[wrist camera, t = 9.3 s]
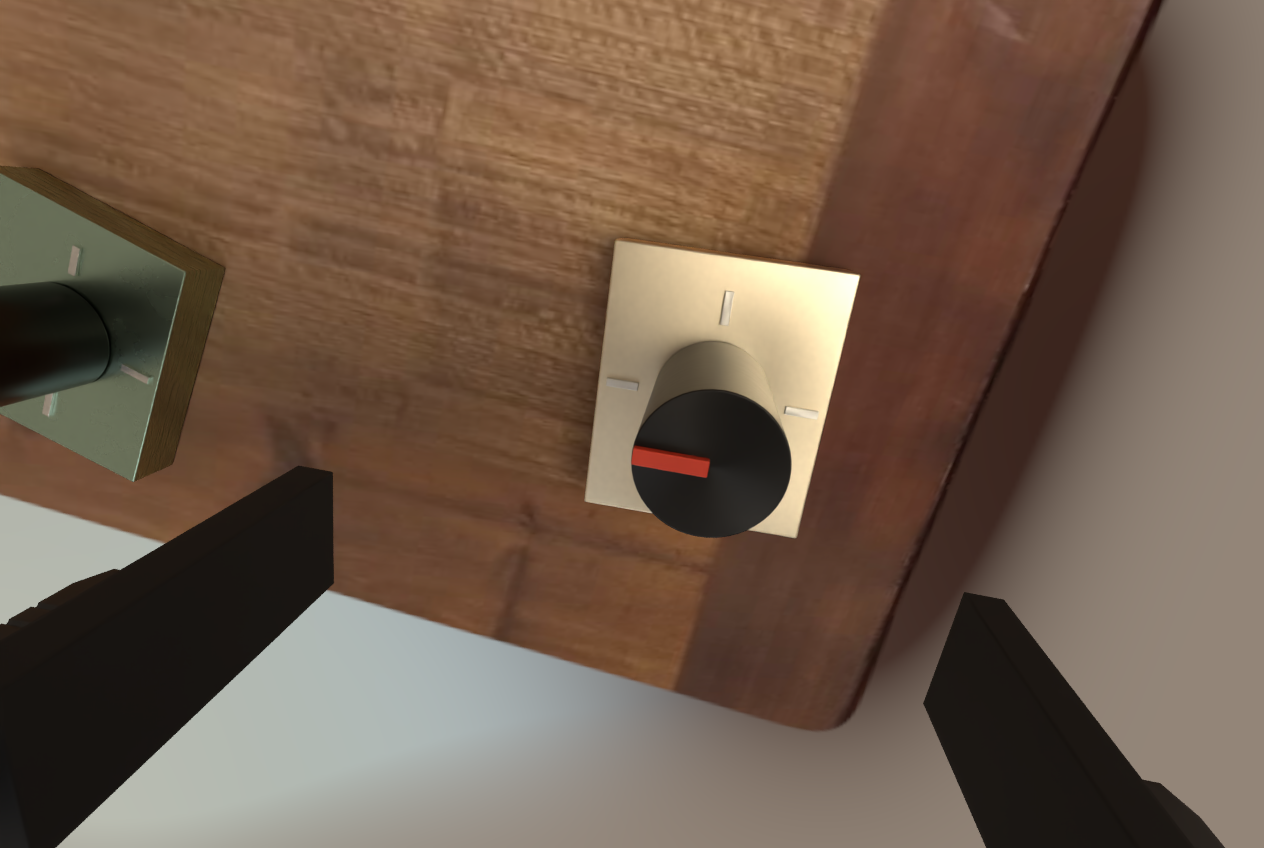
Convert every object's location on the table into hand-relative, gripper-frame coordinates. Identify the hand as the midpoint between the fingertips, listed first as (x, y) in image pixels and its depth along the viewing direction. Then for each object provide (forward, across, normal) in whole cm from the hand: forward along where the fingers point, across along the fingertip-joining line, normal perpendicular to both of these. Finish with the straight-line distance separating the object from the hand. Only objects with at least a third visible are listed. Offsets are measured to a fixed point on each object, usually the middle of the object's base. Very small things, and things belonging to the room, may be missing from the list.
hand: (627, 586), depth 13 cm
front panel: (+18, +2, 0) cm, 18 cm away
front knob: (+15, +2, 0) cm, 15 cm away
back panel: (+18, -29, -2) cm, 34 cm away
